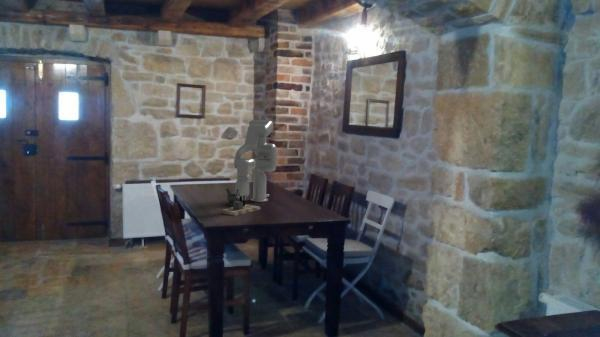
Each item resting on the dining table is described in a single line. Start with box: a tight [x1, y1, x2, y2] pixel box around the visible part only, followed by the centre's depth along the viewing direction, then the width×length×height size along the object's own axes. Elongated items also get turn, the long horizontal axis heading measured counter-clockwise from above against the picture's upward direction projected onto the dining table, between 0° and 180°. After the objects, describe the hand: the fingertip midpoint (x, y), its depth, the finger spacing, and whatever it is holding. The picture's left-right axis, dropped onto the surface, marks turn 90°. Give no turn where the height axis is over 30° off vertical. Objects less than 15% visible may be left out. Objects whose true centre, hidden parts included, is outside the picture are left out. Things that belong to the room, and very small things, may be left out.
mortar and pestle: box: [225, 187, 240, 206], centre depth 337 cm, size 11×9×12 cm
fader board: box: [220, 203, 261, 216], centre depth 317 cm, size 26×12×2 cm, turn 147°
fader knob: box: [232, 201, 243, 209], centre depth 314 cm, size 4×5×4 cm
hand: (242, 206), depth 318 cm, fingers closed
